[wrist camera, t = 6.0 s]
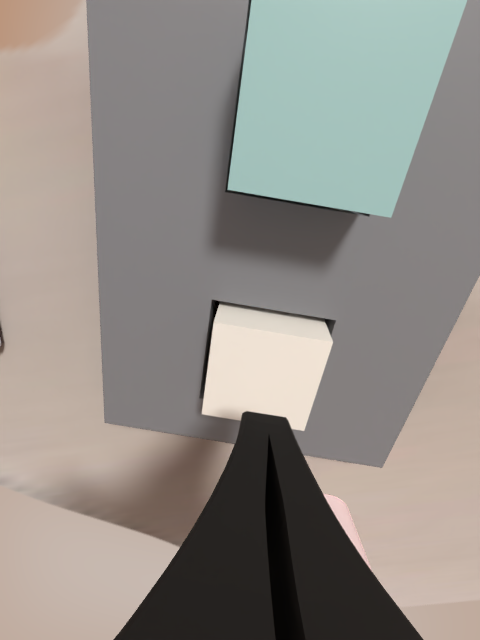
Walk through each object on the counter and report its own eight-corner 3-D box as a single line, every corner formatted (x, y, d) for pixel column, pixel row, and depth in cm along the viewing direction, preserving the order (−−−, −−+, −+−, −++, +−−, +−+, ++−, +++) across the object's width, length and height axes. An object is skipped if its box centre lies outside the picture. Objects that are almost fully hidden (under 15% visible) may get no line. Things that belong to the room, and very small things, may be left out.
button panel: (120, 396, 18) (104, 423, 16) (102, -896, 5) (24, -1418, 4) (370, 437, 18) (382, 467, 16) (901, -732, 6) (1201, -1151, 4)
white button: (212, 370, 16) (201, 414, 14) (223, 290, 15) (213, 322, 12) (296, 384, 17) (304, 430, 14) (319, 307, 15) (333, 342, 12)
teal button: (236, 183, 11) (227, 189, 8) (258, 22, 9) (256, -40, 7) (358, 204, 11) (391, 217, 9) (405, 48, 9) (468, -3, 7)
